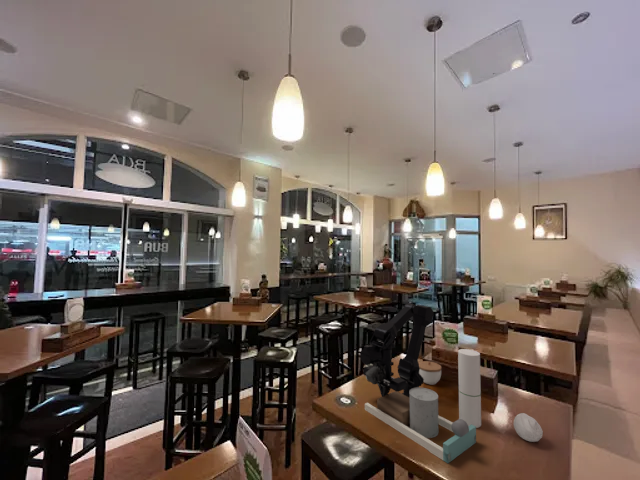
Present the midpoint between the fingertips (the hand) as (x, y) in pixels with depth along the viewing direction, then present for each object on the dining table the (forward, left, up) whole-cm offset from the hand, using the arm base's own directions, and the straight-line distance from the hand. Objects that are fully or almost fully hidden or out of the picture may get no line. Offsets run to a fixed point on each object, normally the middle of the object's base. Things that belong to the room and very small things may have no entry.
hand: (384, 399), depth 115 cm
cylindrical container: (-18, +25, -3) cm, 31 cm away
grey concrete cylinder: (0, +18, -3) cm, 18 cm away
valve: (-16, -19, -3) cm, 25 cm away
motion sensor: (-24, +41, -3) cm, 48 cm away
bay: (0, +16, -3) cm, 16 cm away
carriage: (0, +7, -3) cm, 8 cm away
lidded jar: (-35, -3, -3) cm, 35 cm away
